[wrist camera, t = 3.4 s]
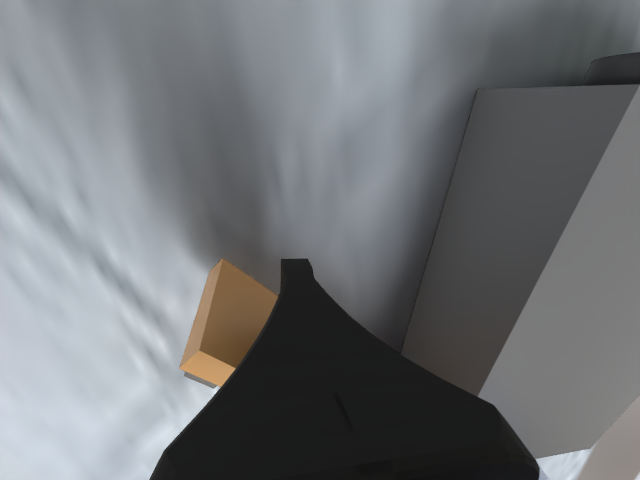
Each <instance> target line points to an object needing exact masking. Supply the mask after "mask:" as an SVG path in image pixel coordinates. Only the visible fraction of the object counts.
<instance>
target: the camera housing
mask: <svg viewBox="0 0 640 480" xmlns="http://www.w3.org/2000/svg"><path fill="white" fill-rule="evenodd" d="M400 354H401V355H403V356H404V357H406V358H407V359H409V360H411V361H412V362H414V363H416V364H417V365H419V366H421V367H422V368H424V369H426V370H428V371H429V372H431V373H433V374H434V375H436V376H438V377H440V378H442V379H443V380H445V381H447V382H449V383H451V384H453V385H455V386H457V387H459V388H461V389H463V390H465V391H467V392H469V393H471V394H473V395H475V396H477V397H479V398H481V399H483V400H485V401H487V402H489V403H491V404H493V405H494V406H495V407H496V408H497V409H498V411H499V412H500V413H501V414H502V415H503V417H504V418H505V419H506V421H507V422H508V423H509V425H510V426H511V427H512V429H513V430H514V431H515V433H516V434H517V435H518V437H519V438H520V439H521V441H522V442H523V444H524V445H525V446H526V448H527V449H528V450H529V452H530V453H531V454H532V456H533V457H534V459H537V458H543V457H548V456H553V455H558V454H564V453H569V452H574V451H579V450H585V449H590V448H591V447H592V446H593V445H594V444H595V443H596V442H597V441H598V440H599V439H600V437H601V436H602V435H603V434H604V433H605V432H606V431H607V430H608V429H609V427H611V426H612V424H613V423H614V422H615V421H616V420H617V419H618V418H619V417H620V416H621V415H622V414H623V413H624V412H625V410H626V409H627V408H628V407H629V406H630V405H631V404H632V403H633V402H634V401H635V400H636V399H637V397H638V396H639V395H640V52H639V53H630V54H622V55H615V56H609V57H604V58H600V59H597V60H594V61H592V63H591V65H590V67H589V70H588V72H587V74H586V76H585V79H584V81H583V83H582V86H562V87H526V88H491V89H478V90H477V93H476V97H475V100H474V103H473V107H472V110H471V114H470V117H469V121H468V124H467V127H466V131H465V134H464V138H463V141H462V144H461V148H460V151H459V155H458V158H457V162H456V165H455V168H454V172H453V175H452V179H451V182H450V186H449V189H448V192H447V196H446V199H445V203H444V206H443V209H442V213H441V216H440V220H439V223H438V227H437V230H436V233H435V237H434V240H433V244H432V247H431V250H430V254H429V257H428V261H427V264H426V268H425V271H424V274H423V278H422V281H421V285H420V288H419V292H418V295H417V298H416V302H415V305H414V309H413V312H412V315H411V319H410V322H409V326H408V329H407V333H406V336H405V339H404V343H403V346H402V350H401V353H400Z"/></svg>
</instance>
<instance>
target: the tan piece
mask: <svg viewBox="0 0 640 480" xmlns="http://www.w3.org/2000/svg"><path fill="white" fill-rule="evenodd" d="M277 299H278V295H276V294H275V293H273V292H272V291H270V290H269V289H267V288H266V287H265V286H263V285H262V284H260V283H259V282H257V281H256V280H254V279H253V278H251V277H250V276H249V275H247V274H246V273H244V272H243V271H241V270H240V269H238V268H237V267H235V266H234V265H233V264H231V263H230V262H228V261H227V260H225V259H224V258H222V259H221V260H220V261H219V262H218V263H217V264H216V265H215V266H214V267H213V268H212V269H211V270H210V272H209V275H208V278H207V282H206V285H205V288H204V291H203V294H202V297H201V301H200V304H199V307H198V310H197V313H196V317H195V320H194V323H193V326H192V329H191V333H190V336H189V339H188V342H187V345H186V348H185V352H184V355H183V358H182V361H181V364H180V368H179V369H181V370H184V371H185V374H184V376H185V377H188V378H190V379H192V380H195V381H197V382H199V383H202V384H204V385H206V386H209V387H211V388H215V387H216V386H217V385H218V386H220V387H221V386H222V385H223V384H224V383H225V381H226V380H227V379H228V378H229V376H230V375H231V374H232V373H233V371H234V370H235V369H236V368H237V366H238V365H239V364H240V362H241V361H242V359H243V358H244V357H245V355H246V354H247V352H248V351H249V349H250V348H251V346H252V345H253V343H254V342H255V340H256V339H257V337H258V335H259V334H260V332H261V330H262V328H263V327H264V325H265V323H266V321H267V319H268V318H269V316H270V314H271V312H272V309H273V307H274V305H275V303H276V301H277Z"/></svg>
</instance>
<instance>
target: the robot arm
mask: <svg viewBox="0 0 640 480" xmlns="http://www.w3.org/2000/svg"><path fill="white" fill-rule="evenodd" d="M149 480H550V479H549V478H548V477H547V475H546V474H545V473H544V471H543V470H542V469H541V467H540V466H539V465H538V463H537V462H536V460H535V459H534V457H533V456H532V454H531V453H530V452H529V450H528V449H527V448H526V446H525V445H524V444H523V442H522V441H521V439H520V438H519V437H518V435H517V434H516V433H515V431H514V430H513V429H512V427H511V426H510V425H509V423H508V422H507V421H506V419H505V418H504V417H503V415H502V414H501V413H500V412H499V411H498V409H497V408H496V407H495V406H494V405H493V404H491V403H489V402H487V401H485V400H483V399H481V398H479V397H477V396H475V395H473V394H471V393H469V392H467V391H465V390H463V389H461V388H459V387H457V386H455V385H453V384H451V383H449V382H447V381H445V380H443V379H442V378H440V377H438V376H436V375H434V374H433V373H431V372H429V371H428V370H426V369H424V368H422V367H421V366H419V365H417V364H416V363H414V362H412V361H411V360H409V359H407V358H406V357H404V356H403V355H401V354H399V353H398V352H396V351H395V350H394V349H392V348H391V347H389V346H388V345H386V344H385V343H383V342H382V341H380V340H379V339H378V338H376V337H375V336H374V335H372V334H371V333H370V332H368V331H367V330H366V329H365V328H363V327H362V326H361V325H360V324H358V323H357V322H356V321H355V320H354V319H352V318H351V317H350V316H349V315H348V314H347V313H346V312H345V311H344V310H343V309H342V308H341V307H340V306H339V305H338V304H337V303H336V302H335V301H334V300H333V299H332V298H331V297H330V296H329V295H328V294H327V293H326V291H325V290H324V289H323V288H322V287H321V286H320V285H319V283H318V282H317V281H316V280H315V279H314V275H313V270H312V266H311V264H310V262H309V261H308V259H281V291H280V294H279V296H278V299H277V301H276V303H275V305H274V307H273V309H272V312H271V314H270V316H269V318H268V319H267V321H266V323H265V325H264V327H263V328H262V330H261V332H260V334H259V335H258V337H257V339H256V340H255V342H254V343H253V345H252V346H251V348H250V349H249V351H248V352H247V354H246V355H245V357H244V358H243V359H242V361H241V362H240V364H239V365H238V366H237V368H236V369H235V370H234V371H233V373H232V374H231V375H230V376H229V378H228V379H227V380H226V381H225V383H224V384H223V385H222V386H221V388H220V389H219V390H218V391H217V393H216V394H215V395H214V396H213V398H212V399H211V400H210V401H209V402H208V403H207V405H206V406H205V407H204V408H203V409H202V410H201V411H200V412H199V413H198V414H197V416H196V417H195V418H194V419H193V420H192V421H191V422H190V423H189V424H188V425H187V426H186V427H185V429H184V430H183V431H182V432H181V433H180V434H179V435H178V436H177V437H176V438H175V439H174V440H173V442H172V443H171V444H170V445H169V446H168V447H167V448H166V449H165V450H164V452H163V454H162V456H161V458H160V460H159V461H158V463H157V465H156V467H155V469H154V471H153V473H152V475H151V477H150V479H149Z"/></svg>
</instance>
